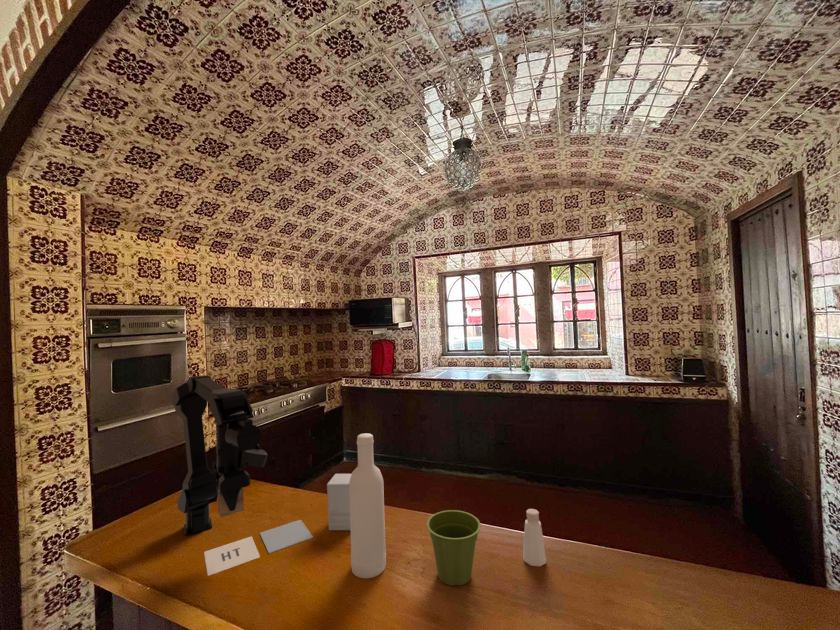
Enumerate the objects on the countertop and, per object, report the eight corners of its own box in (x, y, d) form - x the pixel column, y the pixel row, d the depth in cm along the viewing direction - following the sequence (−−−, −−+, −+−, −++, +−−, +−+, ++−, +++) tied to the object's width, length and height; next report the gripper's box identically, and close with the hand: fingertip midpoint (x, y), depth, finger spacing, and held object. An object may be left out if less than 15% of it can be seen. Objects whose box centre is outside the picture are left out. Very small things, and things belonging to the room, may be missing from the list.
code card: (204, 552, 91) (204, 551, 91) (251, 536, 97) (251, 536, 97) (207, 576, 82) (207, 575, 82) (260, 557, 88) (260, 556, 88)
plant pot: (476, 601, 72) (474, 543, 72) (420, 588, 76) (418, 533, 76) (487, 563, 83) (485, 513, 83) (437, 554, 87) (436, 506, 88)
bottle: (356, 583, 78) (352, 442, 79) (347, 562, 85) (343, 433, 86) (391, 572, 81) (387, 436, 82) (379, 552, 88) (376, 428, 89)
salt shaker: (526, 549, 88) (525, 503, 88) (549, 557, 85) (547, 509, 85) (518, 561, 83) (516, 513, 84) (542, 570, 80) (540, 519, 81)
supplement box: (361, 517, 106) (359, 473, 106) (354, 531, 98) (352, 484, 99) (336, 516, 106) (335, 472, 107) (327, 530, 99) (326, 483, 99)
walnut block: (218, 509, 91) (218, 488, 91) (240, 502, 93) (240, 483, 94) (220, 517, 86) (220, 496, 87) (243, 510, 89) (243, 490, 89)
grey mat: (259, 533, 98) (259, 532, 98) (300, 520, 105) (300, 519, 105) (268, 554, 89) (268, 552, 89) (313, 538, 96) (313, 536, 96)
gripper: (272, 445, 87) (274, 510, 87) (257, 428, 103) (258, 484, 102) (219, 455, 81) (221, 526, 80) (211, 436, 96) (212, 496, 96)
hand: (230, 506), depth 90 cm, fingers closed on walnut block, 5 cm apart
